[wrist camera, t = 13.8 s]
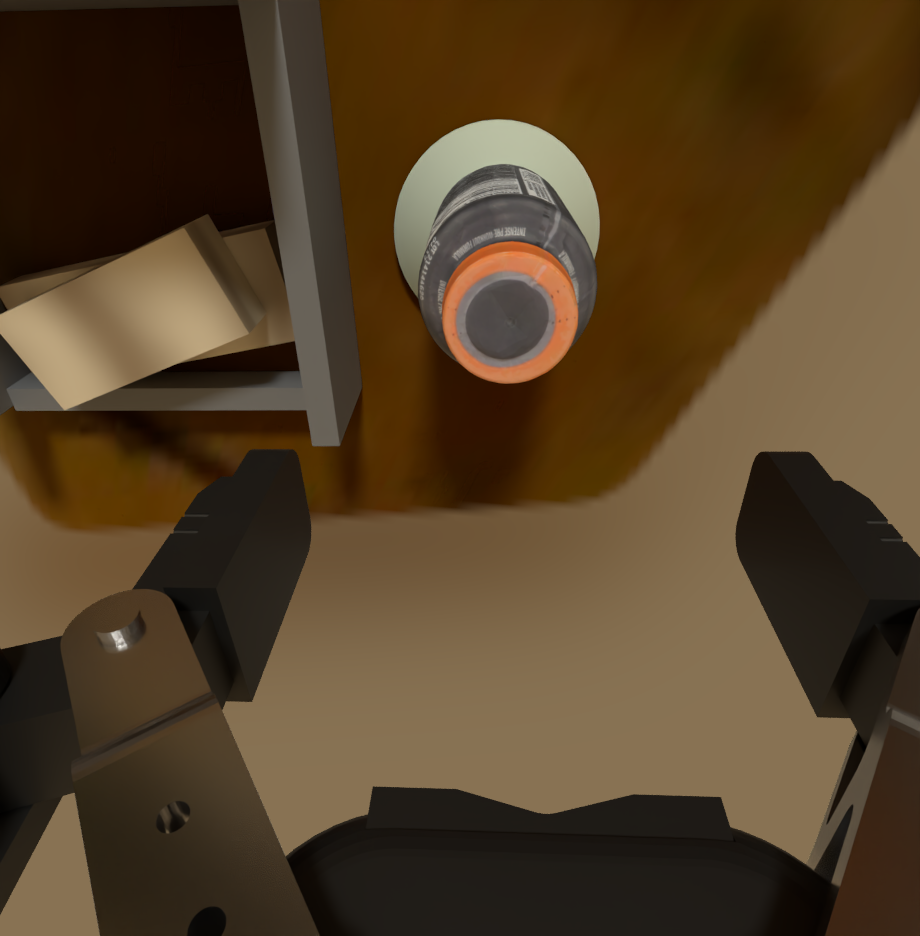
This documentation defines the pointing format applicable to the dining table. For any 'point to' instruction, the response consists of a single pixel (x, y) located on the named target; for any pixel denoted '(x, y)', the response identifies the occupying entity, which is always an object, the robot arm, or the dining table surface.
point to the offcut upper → (134, 315)
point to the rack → (298, 230)
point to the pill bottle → (506, 275)
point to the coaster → (476, 151)
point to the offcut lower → (253, 256)
